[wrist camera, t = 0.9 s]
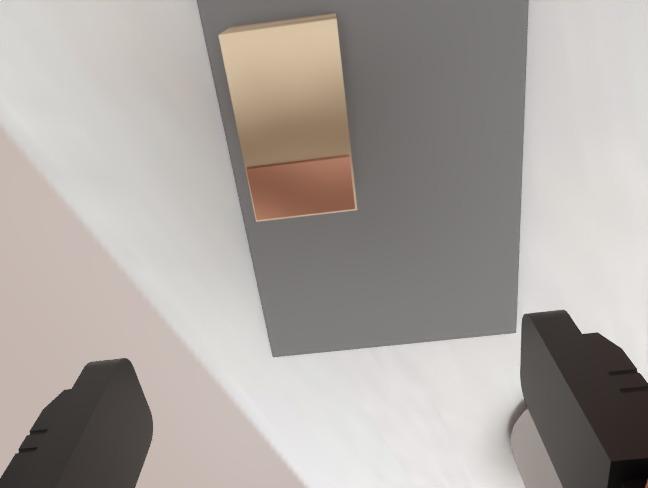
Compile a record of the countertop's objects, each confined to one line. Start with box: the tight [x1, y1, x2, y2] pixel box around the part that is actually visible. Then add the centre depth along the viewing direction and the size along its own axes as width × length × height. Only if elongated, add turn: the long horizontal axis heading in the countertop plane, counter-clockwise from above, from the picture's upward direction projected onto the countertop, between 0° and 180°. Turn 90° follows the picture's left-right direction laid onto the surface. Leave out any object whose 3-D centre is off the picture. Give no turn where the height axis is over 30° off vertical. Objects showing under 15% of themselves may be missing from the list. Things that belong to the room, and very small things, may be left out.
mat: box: [197, 0, 529, 357], centre depth 27 cm, size 20×14×1 cm
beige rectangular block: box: [218, 13, 357, 222], centre depth 24 cm, size 8×5×3 cm, turn 7°
